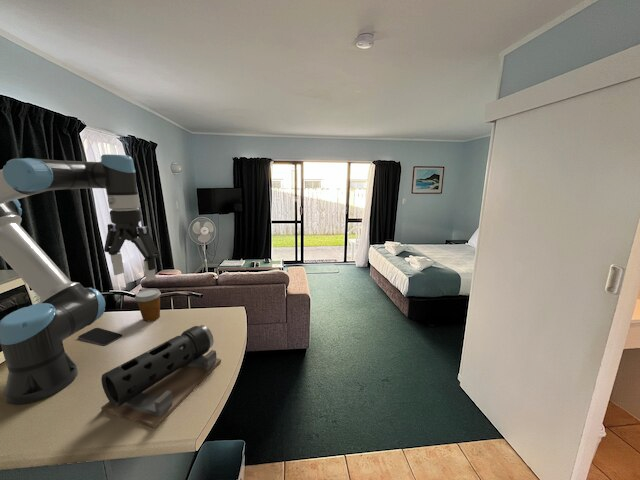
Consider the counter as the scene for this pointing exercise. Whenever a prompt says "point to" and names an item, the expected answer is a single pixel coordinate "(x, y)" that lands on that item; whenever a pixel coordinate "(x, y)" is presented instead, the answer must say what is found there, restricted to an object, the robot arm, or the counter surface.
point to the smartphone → (100, 336)
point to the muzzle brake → (155, 364)
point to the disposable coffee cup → (149, 304)
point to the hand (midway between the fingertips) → (134, 276)
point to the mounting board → (165, 393)
